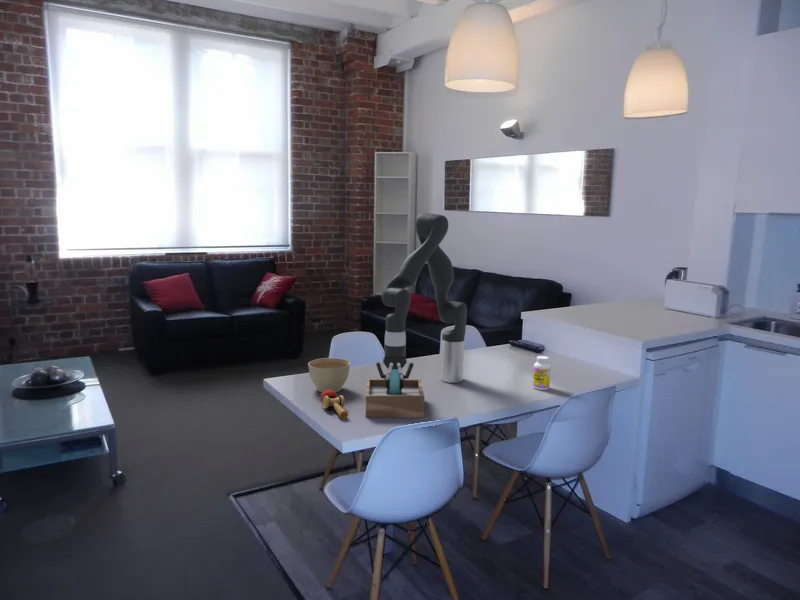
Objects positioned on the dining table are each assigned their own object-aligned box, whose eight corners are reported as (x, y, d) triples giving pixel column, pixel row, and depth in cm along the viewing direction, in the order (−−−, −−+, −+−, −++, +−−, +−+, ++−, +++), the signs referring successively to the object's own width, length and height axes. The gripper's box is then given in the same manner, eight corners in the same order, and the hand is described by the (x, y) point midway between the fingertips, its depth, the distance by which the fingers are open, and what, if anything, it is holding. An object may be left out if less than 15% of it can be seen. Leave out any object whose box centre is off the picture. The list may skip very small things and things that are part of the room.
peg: (388, 396, 219) (389, 366, 217) (399, 396, 219) (400, 367, 217) (388, 399, 215) (389, 369, 213) (400, 399, 215) (400, 370, 213)
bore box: (366, 398, 225) (367, 378, 224) (420, 398, 225) (420, 379, 224) (365, 416, 205) (365, 395, 204) (423, 417, 206) (424, 396, 205)
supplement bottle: (529, 387, 242) (530, 356, 240) (538, 384, 247) (539, 354, 245) (543, 391, 237) (545, 360, 235) (552, 388, 242) (554, 357, 240)
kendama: (356, 420, 205) (337, 398, 220) (354, 404, 203) (335, 383, 218) (335, 427, 202) (317, 404, 217) (332, 411, 200) (315, 389, 215)
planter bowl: (329, 381, 245) (330, 355, 244) (358, 389, 235) (358, 362, 233) (299, 390, 233) (299, 362, 231) (328, 399, 223) (328, 370, 221)
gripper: (414, 340, 218) (413, 386, 220) (375, 340, 217) (374, 386, 220) (415, 345, 210) (414, 392, 213) (375, 345, 210) (374, 392, 212)
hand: (394, 389), depth 216 cm, fingers closed on peg, 3 cm apart
